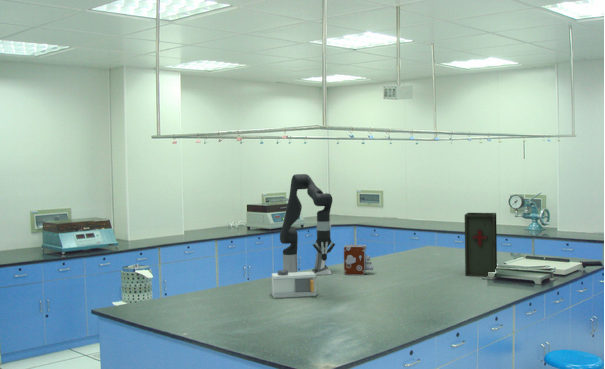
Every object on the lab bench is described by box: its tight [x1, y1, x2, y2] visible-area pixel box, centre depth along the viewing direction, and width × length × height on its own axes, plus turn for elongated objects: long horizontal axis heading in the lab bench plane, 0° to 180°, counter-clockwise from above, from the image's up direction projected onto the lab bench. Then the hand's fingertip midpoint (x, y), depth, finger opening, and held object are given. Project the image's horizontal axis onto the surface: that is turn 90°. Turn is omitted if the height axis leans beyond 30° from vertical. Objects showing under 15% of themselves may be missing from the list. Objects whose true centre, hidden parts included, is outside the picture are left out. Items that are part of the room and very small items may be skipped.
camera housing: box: [271, 269, 318, 299], centre depth 318 cm, size 11×24×14 cm, turn 99°
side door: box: [295, 278, 314, 292], centre depth 311 cm, size 5×10×7 cm, turn 99°
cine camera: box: [343, 244, 374, 276], centre depth 378 cm, size 9×19×20 cm, turn 78°
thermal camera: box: [311, 222, 332, 276], centre depth 383 cm, size 12×13×35 cm
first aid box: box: [464, 212, 498, 278], centre depth 370 cm, size 18×18×40 cm
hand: (324, 260), depth 311 cm, fingers closed
